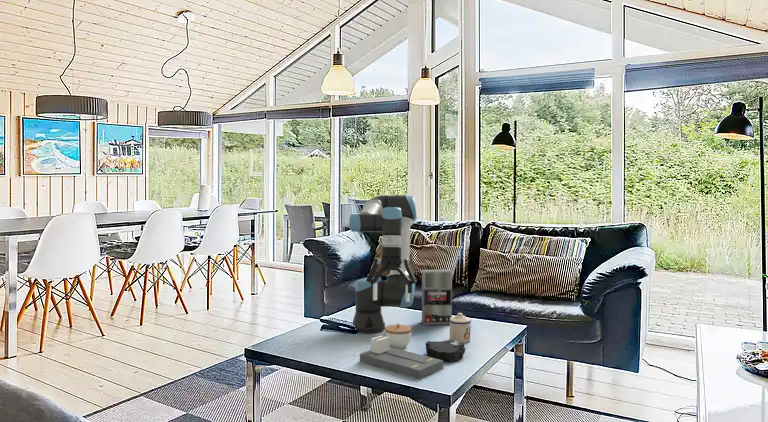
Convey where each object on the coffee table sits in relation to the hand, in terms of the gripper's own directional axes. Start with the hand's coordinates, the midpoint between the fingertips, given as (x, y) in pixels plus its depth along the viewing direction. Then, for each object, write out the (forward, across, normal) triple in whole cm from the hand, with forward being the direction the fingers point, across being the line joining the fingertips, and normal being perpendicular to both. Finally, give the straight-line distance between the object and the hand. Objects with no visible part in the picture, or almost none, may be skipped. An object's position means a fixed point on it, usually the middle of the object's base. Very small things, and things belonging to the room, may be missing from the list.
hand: (391, 301), depth 226 cm
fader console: (+22, +8, -10) cm, 26 cm away
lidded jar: (+20, -1, +11) cm, 22 cm away
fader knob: (+18, -2, -7) cm, 20 cm away
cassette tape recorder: (+15, +4, +51) cm, 53 cm away
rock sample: (+21, +20, +7) cm, 30 cm away
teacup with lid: (+18, +21, +30) cm, 40 cm away
